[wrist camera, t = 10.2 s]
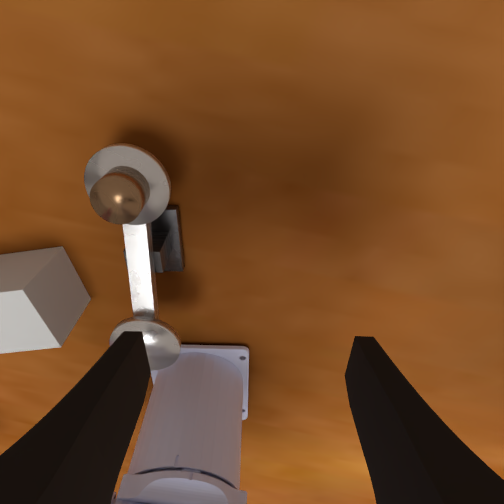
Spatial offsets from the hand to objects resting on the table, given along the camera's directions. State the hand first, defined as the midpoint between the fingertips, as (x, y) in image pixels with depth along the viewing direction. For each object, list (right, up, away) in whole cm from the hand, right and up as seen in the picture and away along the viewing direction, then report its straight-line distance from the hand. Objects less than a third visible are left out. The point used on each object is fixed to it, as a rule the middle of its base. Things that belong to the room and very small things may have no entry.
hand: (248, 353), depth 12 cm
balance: (-6, +4, +10) cm, 12 cm away
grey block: (-14, +2, +12) cm, 18 cm away
